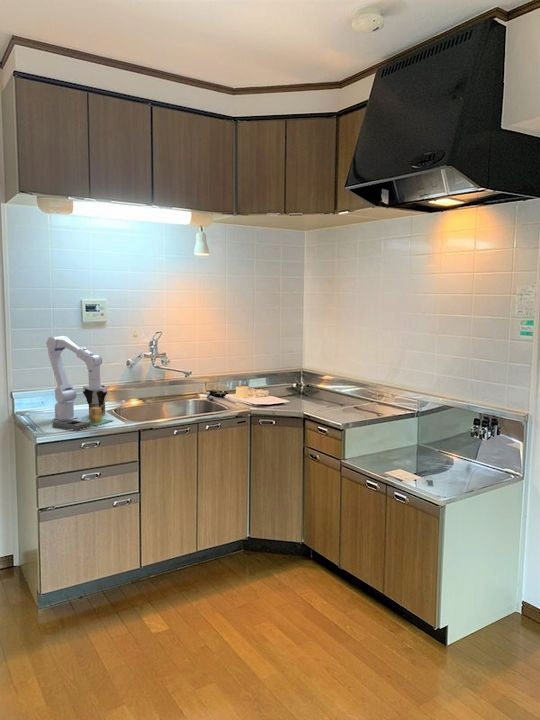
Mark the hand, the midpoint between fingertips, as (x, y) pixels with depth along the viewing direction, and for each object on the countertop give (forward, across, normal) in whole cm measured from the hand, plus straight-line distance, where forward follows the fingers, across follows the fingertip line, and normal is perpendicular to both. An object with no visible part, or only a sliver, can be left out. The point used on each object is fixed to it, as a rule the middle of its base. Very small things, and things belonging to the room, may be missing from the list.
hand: (95, 404), depth 282 cm
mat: (+9, 0, 0) cm, 9 cm away
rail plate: (+9, -4, -13) cm, 16 cm away
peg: (+9, 0, 0) cm, 9 cm away
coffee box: (+10, -11, +12) cm, 19 cm away
